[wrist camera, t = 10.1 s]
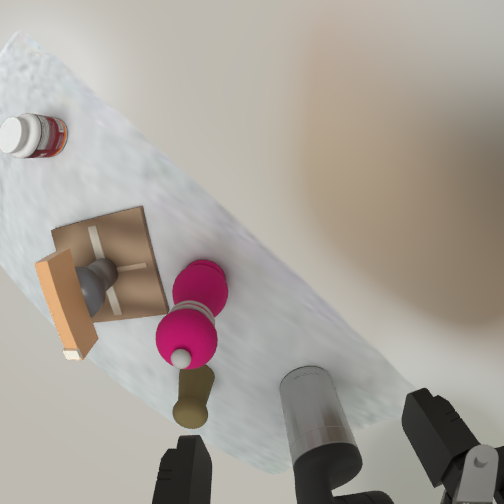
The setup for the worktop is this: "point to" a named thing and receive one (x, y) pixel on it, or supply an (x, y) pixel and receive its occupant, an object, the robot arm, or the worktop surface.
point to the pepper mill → (193, 316)
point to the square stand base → (117, 263)
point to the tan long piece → (71, 301)
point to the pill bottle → (33, 136)
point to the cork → (193, 397)
